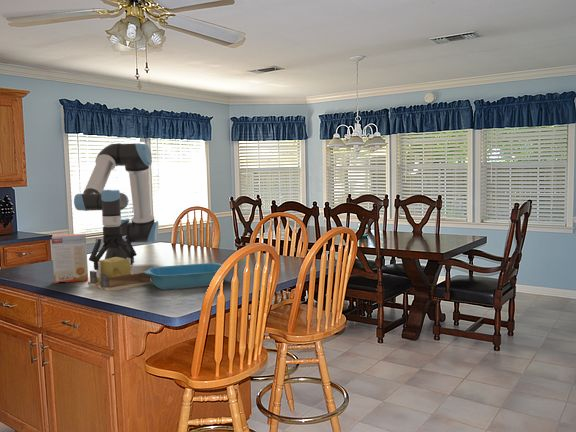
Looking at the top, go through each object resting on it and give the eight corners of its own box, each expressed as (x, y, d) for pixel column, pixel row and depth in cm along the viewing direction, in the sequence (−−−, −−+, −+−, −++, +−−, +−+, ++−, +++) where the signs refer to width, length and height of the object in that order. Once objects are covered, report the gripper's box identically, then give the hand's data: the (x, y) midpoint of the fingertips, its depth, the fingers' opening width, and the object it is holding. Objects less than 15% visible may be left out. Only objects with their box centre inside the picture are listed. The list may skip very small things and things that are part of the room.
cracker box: (88, 278, 236) (86, 233, 234) (88, 281, 230) (85, 234, 229) (54, 281, 231) (52, 234, 229) (53, 283, 226) (51, 236, 224)
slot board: (87, 283, 225) (87, 270, 224) (146, 274, 244) (146, 261, 243) (107, 291, 210) (106, 276, 210) (168, 280, 229) (168, 267, 229)
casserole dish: (223, 275, 240) (222, 260, 239) (238, 285, 220) (237, 268, 219) (141, 283, 225) (140, 267, 225) (149, 294, 205) (148, 276, 204)
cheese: (132, 281, 224) (131, 258, 223) (111, 286, 215) (110, 262, 214) (116, 278, 230) (115, 256, 229) (95, 283, 221) (94, 260, 220)
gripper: (86, 228, 209) (88, 280, 211) (143, 224, 226) (144, 271, 228) (79, 227, 215) (81, 278, 217) (135, 222, 232) (136, 269, 233)
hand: (114, 275), depth 222 cm, fingers open, 13 cm apart
